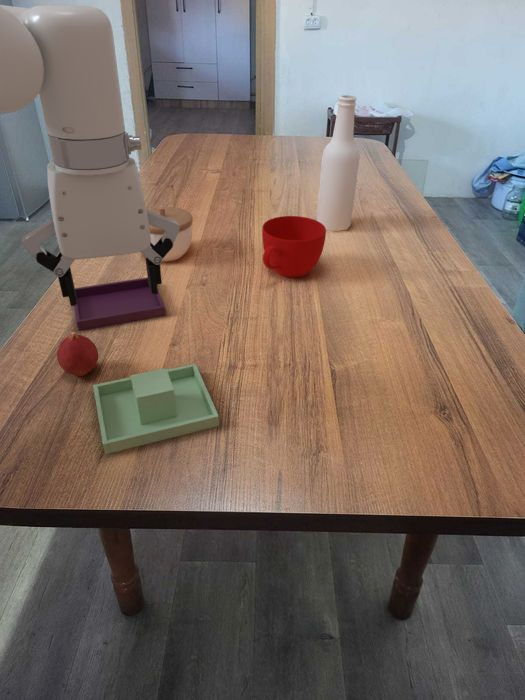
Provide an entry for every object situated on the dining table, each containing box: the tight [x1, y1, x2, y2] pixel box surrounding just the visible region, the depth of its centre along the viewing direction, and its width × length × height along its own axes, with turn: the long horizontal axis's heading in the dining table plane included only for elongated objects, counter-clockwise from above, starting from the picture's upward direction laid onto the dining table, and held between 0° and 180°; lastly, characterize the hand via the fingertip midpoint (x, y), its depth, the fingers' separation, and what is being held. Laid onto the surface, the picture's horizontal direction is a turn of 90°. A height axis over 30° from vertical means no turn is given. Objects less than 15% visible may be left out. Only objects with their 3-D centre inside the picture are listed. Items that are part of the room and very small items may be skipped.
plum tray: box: [73, 276, 167, 332], centre depth 91 cm, size 15×12×2 cm
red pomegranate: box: [56, 331, 99, 377], centre depth 74 cm, size 6×6×8 cm
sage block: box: [130, 367, 177, 425], centre depth 68 cm, size 5×5×5 cm
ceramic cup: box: [261, 215, 327, 279], centre depth 101 cm, size 13×17×10 cm
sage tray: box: [92, 363, 220, 455], centre depth 69 cm, size 15×12×2 cm
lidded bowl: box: [146, 206, 194, 263], centre depth 107 cm, size 13×13×11 cm
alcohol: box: [315, 94, 360, 232], centre depth 117 cm, size 9×9×30 cm
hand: (114, 294), depth 61 cm, fingers open, 9 cm apart
